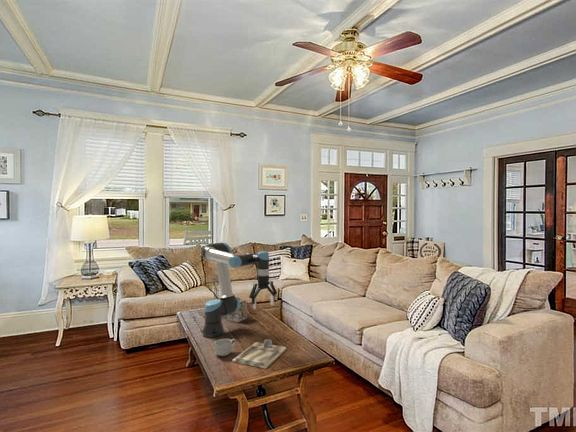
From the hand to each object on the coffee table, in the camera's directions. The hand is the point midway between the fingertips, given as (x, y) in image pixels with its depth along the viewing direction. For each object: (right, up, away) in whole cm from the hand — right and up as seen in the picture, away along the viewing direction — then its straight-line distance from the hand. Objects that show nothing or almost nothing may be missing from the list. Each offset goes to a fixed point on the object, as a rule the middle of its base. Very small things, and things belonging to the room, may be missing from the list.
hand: (263, 306), depth 220 cm
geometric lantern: (-39, -23, +62) cm, 77 cm away
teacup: (-22, -25, -16) cm, 37 cm away
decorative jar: (-25, -24, +48) cm, 59 cm away
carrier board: (0, -24, -19) cm, 31 cm away
